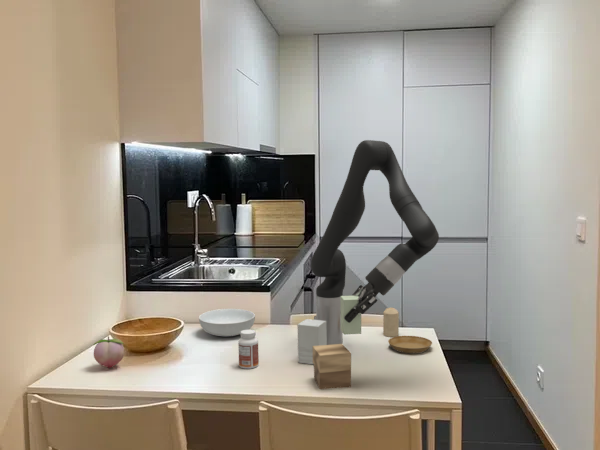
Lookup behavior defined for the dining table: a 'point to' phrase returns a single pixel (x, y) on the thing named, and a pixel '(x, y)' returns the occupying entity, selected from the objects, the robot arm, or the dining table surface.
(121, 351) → the decorative fruit
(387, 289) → the robot arm
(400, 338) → the plant saucer
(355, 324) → the sage block
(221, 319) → the serving bowl
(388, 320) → the candle
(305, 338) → the supplement box
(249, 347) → the pill bottle
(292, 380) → the dining table surface
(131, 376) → the dining table surface
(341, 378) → the walnut block
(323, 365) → the oak block
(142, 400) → the dining table surface
